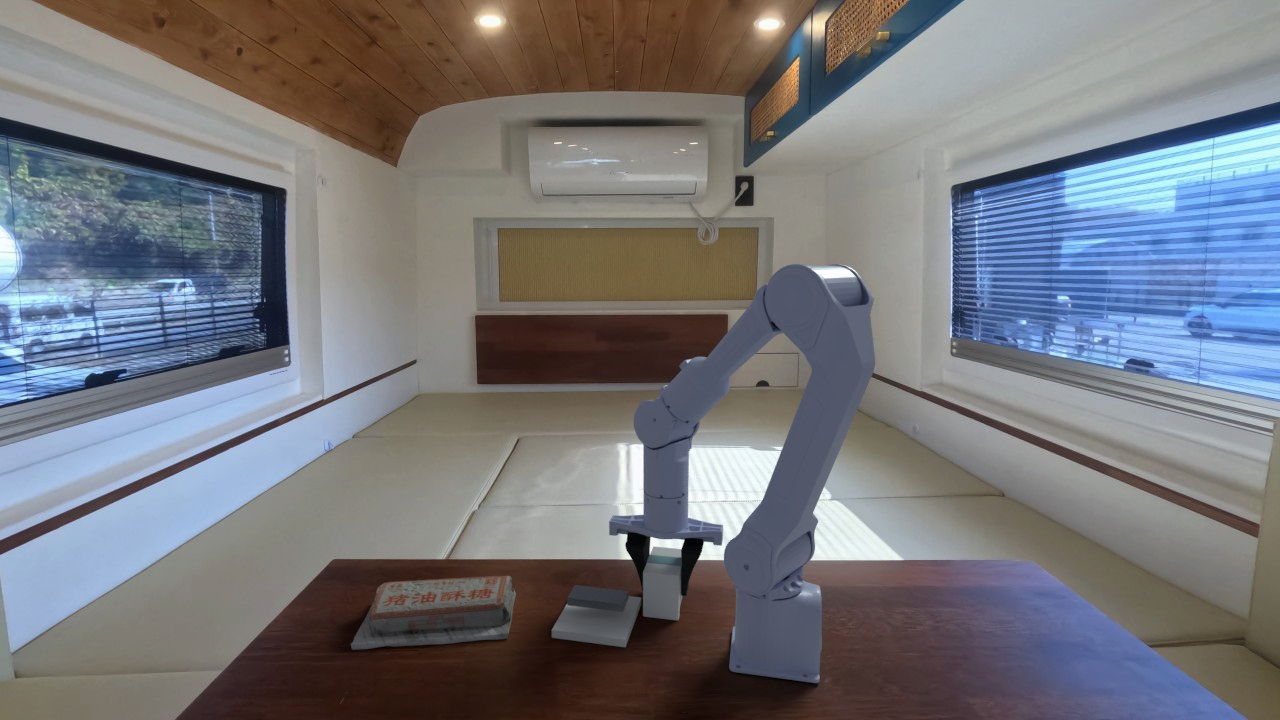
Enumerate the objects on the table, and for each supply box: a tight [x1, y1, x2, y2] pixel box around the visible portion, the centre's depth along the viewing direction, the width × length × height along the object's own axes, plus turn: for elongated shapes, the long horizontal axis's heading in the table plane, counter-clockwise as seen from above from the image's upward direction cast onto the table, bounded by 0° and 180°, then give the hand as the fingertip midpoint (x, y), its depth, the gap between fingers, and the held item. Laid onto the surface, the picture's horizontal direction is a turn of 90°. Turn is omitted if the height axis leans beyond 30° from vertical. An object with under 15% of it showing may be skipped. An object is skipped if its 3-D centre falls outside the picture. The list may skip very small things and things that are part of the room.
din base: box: [551, 595, 642, 648], centre depth 74 cm, size 9×9×1 cm
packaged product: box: [350, 575, 517, 651], centre depth 74 cm, size 18×5×10 cm
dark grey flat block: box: [566, 584, 630, 612], centre depth 74 cm, size 7×3×1 cm, turn 78°
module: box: [642, 546, 684, 621], centre depth 77 cm, size 5×7×6 cm, turn 168°
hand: (665, 589), depth 78 cm, fingers closed on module, 4 cm apart
